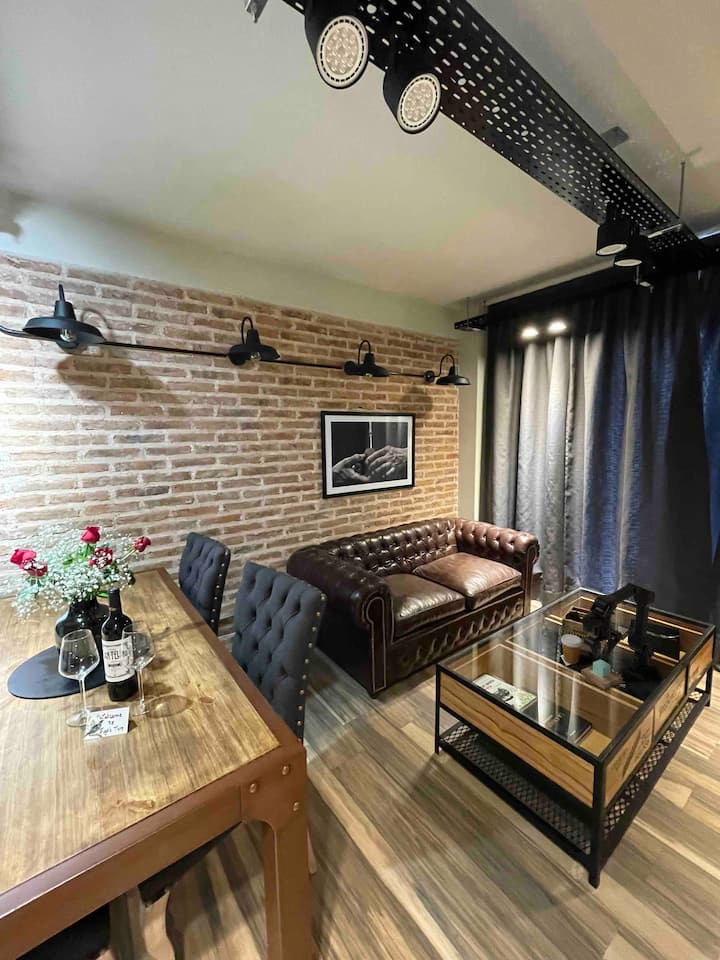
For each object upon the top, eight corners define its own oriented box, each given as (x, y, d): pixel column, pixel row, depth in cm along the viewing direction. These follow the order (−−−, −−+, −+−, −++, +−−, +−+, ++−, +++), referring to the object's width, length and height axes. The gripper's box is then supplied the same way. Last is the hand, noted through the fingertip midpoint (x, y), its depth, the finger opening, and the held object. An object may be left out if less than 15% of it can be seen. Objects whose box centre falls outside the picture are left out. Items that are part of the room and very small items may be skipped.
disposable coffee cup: (584, 666, 198) (585, 644, 196) (563, 665, 200) (563, 643, 198) (578, 655, 207) (578, 634, 205) (558, 654, 209) (558, 633, 207)
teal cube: (600, 668, 192) (600, 659, 191) (610, 674, 188) (610, 665, 187) (592, 671, 190) (593, 662, 190) (602, 677, 186) (602, 668, 185)
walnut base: (598, 667, 197) (599, 662, 197) (622, 682, 186) (622, 677, 185) (580, 674, 193) (581, 669, 192) (604, 689, 182) (604, 684, 181)
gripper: (601, 611, 196) (600, 641, 198) (573, 621, 189) (572, 651, 192) (624, 622, 186) (622, 653, 188) (595, 632, 179) (593, 664, 182)
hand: (602, 654), depth 188 cm, fingers open, 9 cm apart
